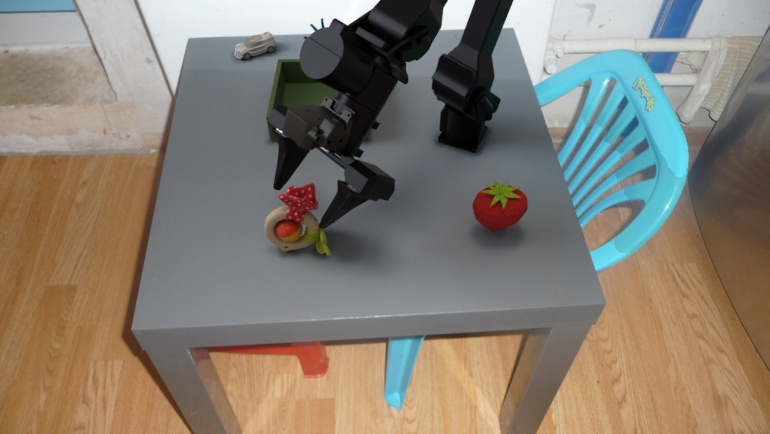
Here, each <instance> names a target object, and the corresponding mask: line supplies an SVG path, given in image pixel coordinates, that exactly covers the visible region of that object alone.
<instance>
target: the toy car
mask: <svg viewBox="0 0 770 434" xmlns="http://www.w3.org/2000/svg"><path fill="white" fill-rule="evenodd" d="M275 48H276V49H277V48H278V47H277V42H276V40H275V38H274V35H273V34H272V33H271V32H269V31H265V32H262V33H259V34H254V35H251V36H249V37H247V38H246V39H245V40H244V41H241V42H239V43H237V44H236V45H235V47H234V52H233V54H234V56H235V58H236V59H238V60H241V59H244V60H246V61H247V60H248V61H249V59H251V57H255V56H258V55H262V54H264V53H267V52H268V54H271V53H273V52H275Z"/></svg>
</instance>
